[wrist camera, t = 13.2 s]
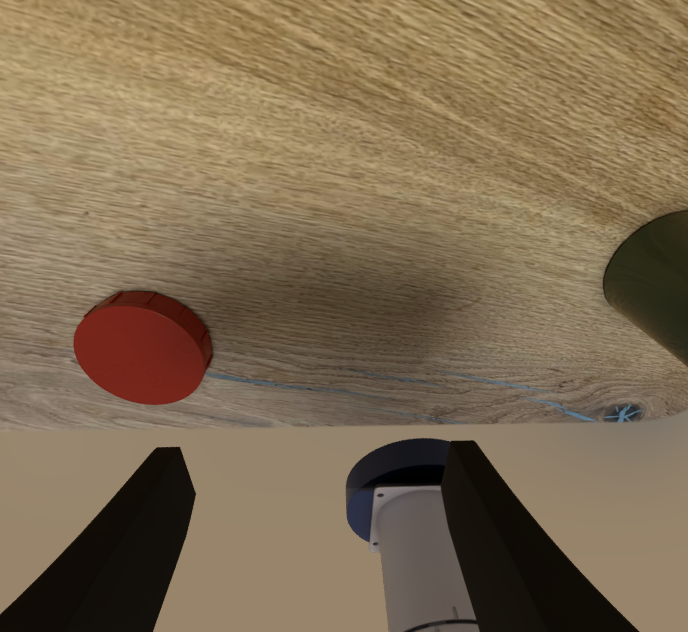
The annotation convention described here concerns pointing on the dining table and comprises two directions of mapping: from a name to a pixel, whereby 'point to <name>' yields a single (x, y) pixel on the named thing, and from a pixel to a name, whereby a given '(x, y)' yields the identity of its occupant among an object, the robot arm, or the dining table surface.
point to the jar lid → (143, 348)
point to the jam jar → (654, 282)
